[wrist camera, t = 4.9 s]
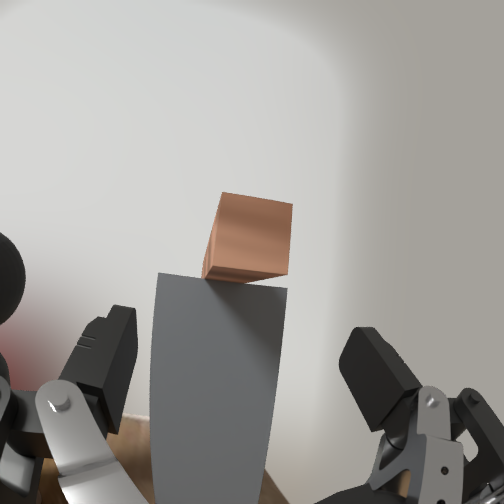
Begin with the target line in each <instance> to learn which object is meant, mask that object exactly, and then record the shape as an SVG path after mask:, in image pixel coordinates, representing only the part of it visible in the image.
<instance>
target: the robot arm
mask: <svg viewBox="0 0 504 504" xmlns="http://www.w3.org/2000/svg"><path fill="white" fill-rule="evenodd" d="M25 279H26V275H25V267H24V264H23V260H22V258H21V255H20V253H19V251H18V250H17V249H16V247H15V245H14V244H13V243H12V242H11V241H10V240H9V239H8V238H7V237H6V236H4V235H3V234H2V233H0V325H1V324H2V323H4V322H5V321H6V320H7V319H8V318H9V317H10V316H11V315H12V314H13V313H14V311H15V310H16V308H17V307H18V305H19V303H20V301H21V298H22V295H23V293H24V288H25V281H26V280H25ZM137 352H138V337H137V319H136V310H135V308H131V307H125V306H119V305H113V307H112V308H111V310H110V312H109V314H108V316H107V318H104V317H97V318H96V319H94V320H93V321H91V322H90V323H89V324H88V325H87V326H86V328H85V330H84V331H83V333H82V337H80V339H79V340H78V342H77V346H75V348H74V350H73V351H72V353H71V355H70V357H69V359H68V361H67V363H66V365H65V367H64V369H63V371H62V373H61V375H60V377H59V379H58V380H52V381H49V382H47V383H45V384H44V385H42V386H41V387H40V389H39V390H38V391H22V390H12V389H11V386H10V377H9V370H8V366H7V363H6V361H5V359H4V357H3V356H2V355H1V353H0V504H41V501H42V499H41V494H40V491H39V489H38V486H39V480H40V475H41V470H42V465H43V461H44V458H51V459H54V460H55V463H56V465H57V467H58V470H59V475H58V481H59V484H60V486H61V489H62V491H63V493H64V495H65V497H66V499H67V501H68V502H69V504H149V503H148V502H147V501H146V499H145V498H144V497H143V495H142V494H141V493H140V491H139V490H138V489H137V487H136V486H135V485H134V483H133V482H132V480H131V479H130V478H129V476H128V475H127V473H126V472H125V470H124V469H123V467H122V466H121V464H120V463H119V461H118V460H117V458H116V457H115V456H114V454H113V453H112V451H111V449H110V447H109V446H108V444H107V442H106V438H107V433H112V434H117V435H118V432H119V427H120V422H121V418H122V413H123V409H124V405H125V401H126V396H127V392H128V389H129V385H130V381H131V377H132V373H133V369H134V366H135V363H136V358H137ZM398 355H399V354H398V353H397V352H396V351H395V349H394V348H393V347H392V346H391V345H390V344H389V343H387V342H386V341H385V340H384V339H383V338H382V337H381V335H380V334H379V333H378V332H377V330H375V328H373V327H356V328H354V329H353V330H352V332H351V335H350V337H349V339H348V341H347V343H346V345H345V347H344V349H343V352H342V354H341V356H340V359H339V369H340V372H341V374H342V376H343V378H344V379H345V381H346V383H347V385H348V387H349V389H350V391H351V393H352V395H353V397H354V399H355V401H356V403H357V405H358V407H359V409H360V411H361V412H362V414H363V416H364V418H365V420H366V422H367V424H368V426H369V428H370V430H371V432H375V431H379V430H382V429H384V431H385V433H384V434H383V435H382V437H381V439H380V444H379V448H378V452H377V455H376V459H375V463H374V466H373V470H372V473H371V476H370V477H369V479H368V480H367V482H366V483H365V484H364V485H361V486H358V487H355V488H351V489H348V490H344V491H340V492H337V493H335V494H333V495H331V496H329V497H327V498H325V499H323V500H321V501H319V502H317V503H315V504H504V426H503V425H502V423H501V422H500V420H499V419H498V418H497V416H496V415H495V413H494V412H493V410H492V409H491V408H490V406H489V405H488V404H487V403H486V401H485V400H484V398H483V397H482V396H481V395H480V394H479V393H478V392H477V391H476V390H474V389H471V388H465V389H463V390H462V391H461V393H460V394H459V395H458V397H457V398H447V397H446V395H445V394H444V393H443V392H442V391H441V390H439V389H438V388H435V387H433V386H424V387H423V386H422V385H421V384H420V382H419V381H418V379H417V378H416V377H415V375H414V374H413V373H412V372H411V370H410V369H409V367H408V366H407V365H406V364H405V363H404V361H403V360H402V358H401V357H400V356H398ZM466 429H467V430H468V431H469V433H470V434H471V436H472V438H473V439H474V441H475V442H476V444H477V446H478V454H477V456H476V457H475V458H474V459H473V460H472V461H471V462H469V461H468V460H467V459H466V457H465V455H464V454H463V445H462V443H461V442H457V441H456V439H457V437H459V436H460V435H461V434H462V433H463V431H465V430H466ZM487 483H489V484H487Z"/></svg>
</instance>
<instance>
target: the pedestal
mask: <svg viewBox="0 0 504 504" xmlns="http://www.w3.org/2000/svg"><path fill="white" fill-rule="evenodd" d="M286 299H287V288H282V287H271V286H262V285H252V284H244V283H235V282H227V281H219V280H210V279H202V278H195V277H186V276H179V275H172V274H165V273H158V280H157V288H156V298H155V307H154V317H153V330H152V345H151V364H150V445H151V462H152V475H153V486H154V495H155V503H156V504H258V500H259V495H260V490H261V485H262V479H263V473H264V468H265V461H266V456H267V450H268V443H269V436H270V430H271V424H272V417H273V410H274V403H275V396H276V388H277V381H278V373H279V364H280V356H281V346H282V337H283V329H284V319H285V309H286Z"/></svg>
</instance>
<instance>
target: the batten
mask: <svg viewBox="0 0 504 504" xmlns="http://www.w3.org/2000/svg"><path fill="white" fill-rule="evenodd" d="M292 206H293V204H290V203H285V202H279V201H274V200H268V199H262V198H256V197H251V196H245V195H238V194H232V193H226V192H222V195H221V199H220V202H219V205H218V209H217V213H216V216H215V220H214V223H213V227H212V231H211V235H210V238H209V242H208V246H207V250H206V254H205V257H204V261H203V268H202V277H201V278H202V279H210V280H219V281H227V282H235V283H249V282H254V281H258V280H264V279H269V278H274V277H278V276H283V275H287V274H288V263H289V250H290V236H291V222H292Z"/></svg>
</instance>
